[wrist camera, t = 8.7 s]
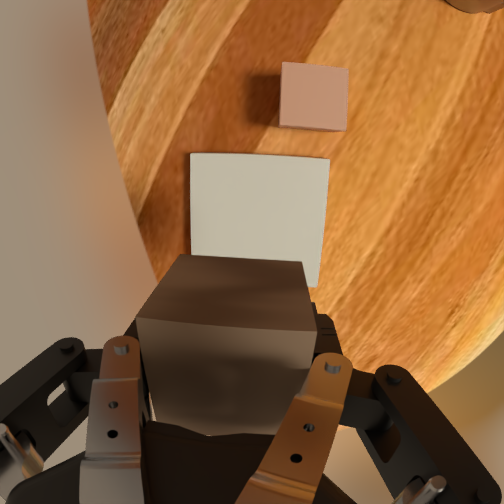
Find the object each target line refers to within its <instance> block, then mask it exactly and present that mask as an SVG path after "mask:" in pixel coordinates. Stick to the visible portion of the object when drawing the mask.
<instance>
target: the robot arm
mask: <svg viewBox="0 0 504 504" xmlns="http://www.w3.org/2000/svg"><path fill="white" fill-rule="evenodd" d="M446 1H447V2H448V3H450V4H451V5H452V6H454V7H456V8H458V9H460V10H462V11H464V12H468V13H479V12H482V11H485V12H487V13H492V12H495V11H497V10H499V9H502V8H504V0H446ZM311 304H312V309H313V313H314V318H315V323H316V328H317V336H316V342H315V347H314V353H313V358H312V363H311V368H310V371H309V373H308V375H307V378H306V380H305V382H304V384H303V387H302V389H301V391H300V393H296V395H295V396H294V398H293V401H292V403H291V405H290V407H289V409H288V411H287V413H286V415H285V417H284V419H283V421H282V423H281V425H280V427H279V429H278V431H277V433H276V435H272V434H253V433H238V434H228V435H218V436H207V435H204V434H201V433H198V432H195V431H192V430H189V429H187V428H184V427H181V426H179V425H174V424H168V423H162V422H157V421H153V420H152V408H151V397H150V392H149V387H148V383H147V378H146V373H145V369H144V364H143V359H142V353H141V348H140V343H139V337H138V331H137V325H136V319H135V320H133V322H132V323H131V325H130V326H129V328H128V329H127V331H126V332H125V334H124V335H123V336H117V337H114V338H111V339H110V340H108V341H107V342H106V343H105V345H104V347H103V349H87V350H86V349H85V347H84V344H83V342H82V341H81V340H80V339H77V338H72V337H71V338H64V339H61V340H59V341H57V342H55V343H54V344H53V345H51V346H50V347H49V348H47V349H46V350H45V351H43V352H42V353H41V354H40V355H38V356H37V357H36V358H34V359H33V360H32V361H30V362H29V363H28V364H26V366H24V367H23V368H21V369H20V370H19V371H18V372H16V373H15V374H14V375H12V376H11V377H10V378H9V379H7V380H6V381H5V382H4V383H2V384H1V385H0V495H1V497H2V498H3V499H4V500H6V503H5V504H357V503H356V502H355V501H353V500H352V499H351V498H350V497H349V496H348V495H347V494H345V493H344V492H343V491H342V490H341V489H340V488H339V487H337V485H335V484H334V483H333V482H332V481H331V480H330V479H329V478H328V477H327V476H326V475H325V474H324V473H323V471H324V468H325V465H326V462H327V459H328V456H329V453H330V450H331V447H332V444H333V440H334V437H335V434H336V431H337V428H338V424H340V425H344V426H349V427H353V428H356V431H357V433H358V435H359V437H360V438H361V440H362V442H363V444H364V446H365V447H366V449H367V451H368V453H369V455H370V456H371V458H372V459H373V462H374V464H375V465H376V467H377V469H378V471H379V473H380V475H381V477H382V478H383V480H384V482H385V484H386V486H387V488H388V489H389V491H390V493H391V495H392V497H393V498H394V501H393V502H392V504H500V503H501V499H502V494H501V489H500V487H499V485H498V484H497V483H496V481H495V480H494V479H493V478H492V476H491V475H490V473H489V472H488V471H487V469H486V468H485V467H484V465H483V464H482V463H481V461H480V460H479V459H478V457H477V456H476V455H475V454H474V452H473V451H472V450H471V448H470V447H469V446H468V444H467V443H466V442H465V441H464V439H463V438H462V437H461V436H460V434H459V433H458V432H457V430H456V429H455V428H454V427H453V426H452V424H451V423H450V422H449V420H448V419H447V418H446V417H445V415H444V414H443V413H442V412H441V411H440V409H439V408H438V407H437V406H436V404H435V403H434V402H433V401H432V399H431V398H430V397H429V396H428V395H427V393H426V392H425V391H424V390H423V389H422V387H421V386H420V385H419V384H418V382H417V381H416V380H415V379H414V378H413V376H412V375H411V374H410V373H409V372H408V371H407V370H406V369H404V368H402V367H400V366H397V365H384V366H381V367H379V368H378V369H377V370H376V372H375V374H372V373H367V372H362V371H359V370H356V369H354V368H353V365H352V362H351V361H350V360H349V359H348V358H347V357H345V356H343V354H342V350H341V347H340V343H339V340H338V336H337V333H336V330H335V326H334V323H333V320H332V319H331V318H330V317H329V316H328V315H327V314H317V310H316V306H315V302H311ZM62 383H63V384H64V387H65V389H66V390H65V391H64V392H63V393H62V394H60V395H59V396H58V397H57V398H56V399H55V400H54V401H53V402H52V403H51V404H50V405H49V406H48V405H47V399H48V396H49V395H50V394H51V393H52V392H53V391H54V390H55V389H56V388H57V387H58V386H59V385H61V384H62ZM87 416H88V426H87V437H86V438H87V439H86V450H85V451H84V452H82V453H79V454H78V455H76V456H74V457H72V458H70V459H68V460H66V461H64V462H62V463H60V464H58V465H56V466H53V467H51V468H49V469H47V470H45V471H43V466H44V462H45V461H46V460H47V458H49V457H50V455H51V454H52V453H53V452H54V451H55V450H56V449H57V448H58V447H59V446H60V445H61V444H62V443H63V442H64V441H65V440H66V439H67V438H68V436H69V435H70V434H71V433H72V432H73V431H74V430H75V429H76V428H77V427H78V426H79V425H80V424H81V423H82V422H83V421H84V420H85V419H86V418H87ZM42 471H43V472H42Z"/></svg>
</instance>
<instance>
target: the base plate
mask: <svg viewBox="0 0 504 504" xmlns="http://www.w3.org/2000/svg"><path fill="white" fill-rule="evenodd" d="M329 167H330V159H327V158H316V157H303V156H289V155H271V154H248V153H190V212H191V255H203V256H219V257H235V258H252V259H269V260H286V261H302V264H303V268H304V273H305V277H306V281H307V286H308V287H317V284H318V277H319V269H320V260H321V252H322V243H323V234H324V224H325V214H326V204H327V192H328V180H329Z"/></svg>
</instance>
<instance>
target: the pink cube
mask: <svg viewBox="0 0 504 504" xmlns="http://www.w3.org/2000/svg"><path fill="white" fill-rule="evenodd" d="M347 105H348V69H346V68H339V67H332V66H324V65H314V64H304V63H292V62H282V68H281V77H280V102H279V125H278V127H279V128H294V129H307V130H318V131H328V132H340V131H346V126H347Z"/></svg>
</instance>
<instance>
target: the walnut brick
mask: <svg viewBox="0 0 504 504" xmlns="http://www.w3.org/2000/svg"><path fill="white" fill-rule="evenodd" d="M135 319H136V325H137V331H138V337H139V343H140V348H141V353H142V359H143V364H144V369H145V373H146V378H147V383H148V387H149V392H150V396H151V400H152V405H153V409H154V413H155V417H156V421H157V422H162V423H168V424H174V425H179V426H181V427H184V428H187V429H189V430H192V431H195V432H198V433H201V434H204V435H211V436H218V435H228V434H238V433H253V434H272V435H276V433H277V431H278V429H279V427H280V425H281V423H282V421H283V419H284V417H285V415H286V413H287V411H288V409H289V407H290V405H291V403H292V401H293V398H294V396H295V395H296V393H300V391H301V389H302V387H303V384H304V382H305V380H306V378H307V375H308V373H309V371H310V368H311V363H312V358H313V353H314V347H315V342H316V336H317V328H316V323H315V318H314V313H313V309H312V304H311V300H310V295H309V290H308V286H307V281H306V277H305V273H304V268H303V264H302V261H286V260H269V259H252V258H235V257H219V256H203V255H187V254H180V255H179V256H178V258H177V259H176V261H175V262H174V263H173V265H172V266H171V267H170V269H169V270H168V271H167V273H166V274H165V276H164V277H163V278H162V280H161V281H160V283H159V284H158V285H157V287H156V288H155V289H154V291H153V292H152V294H151V295H150V297H149V298H148V299H147V301H146V302H145V304H144V305H143V307H142V308H141V309H140V311H139V312H138V314H137V315H136V317H135Z"/></svg>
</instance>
